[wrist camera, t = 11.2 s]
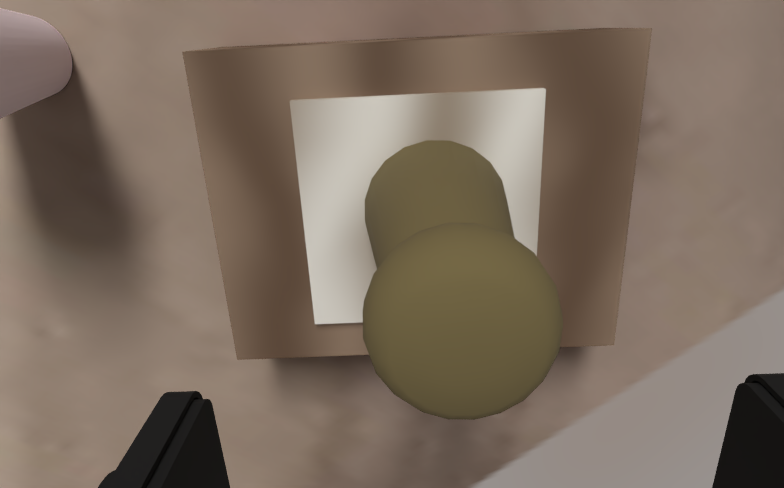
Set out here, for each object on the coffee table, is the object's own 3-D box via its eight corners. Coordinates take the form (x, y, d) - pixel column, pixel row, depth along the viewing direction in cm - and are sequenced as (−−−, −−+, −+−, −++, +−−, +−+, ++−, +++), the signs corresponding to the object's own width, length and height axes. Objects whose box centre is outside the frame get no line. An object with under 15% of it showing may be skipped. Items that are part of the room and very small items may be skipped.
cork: (511, 266, 24) (599, 444, 14) (376, 284, 24) (362, 470, 14) (502, 129, 22) (597, 219, 12) (352, 151, 22) (317, 257, 12)
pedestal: (604, 28, 25) (656, 28, 20) (580, 296, 31) (617, 349, 26) (220, 47, 26) (178, 52, 21) (260, 309, 31) (234, 364, 26)
